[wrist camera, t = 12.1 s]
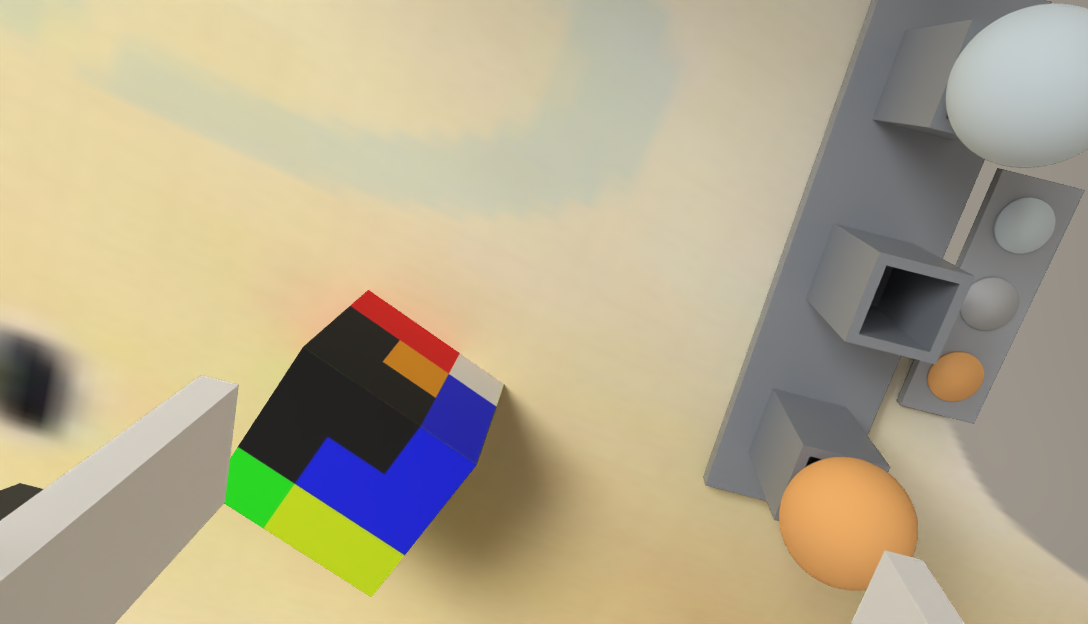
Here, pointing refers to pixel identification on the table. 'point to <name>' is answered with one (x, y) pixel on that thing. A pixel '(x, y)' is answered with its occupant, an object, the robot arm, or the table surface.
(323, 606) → the table surface
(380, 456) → the puzzle toy
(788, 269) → the ball display stand
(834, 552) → the orange ball
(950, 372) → the card
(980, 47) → the light gray ball
